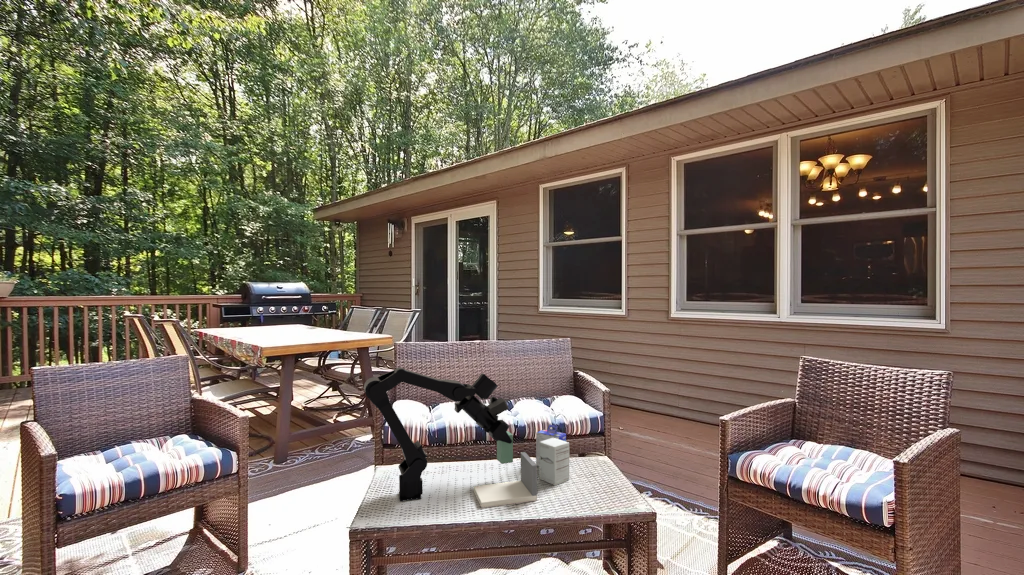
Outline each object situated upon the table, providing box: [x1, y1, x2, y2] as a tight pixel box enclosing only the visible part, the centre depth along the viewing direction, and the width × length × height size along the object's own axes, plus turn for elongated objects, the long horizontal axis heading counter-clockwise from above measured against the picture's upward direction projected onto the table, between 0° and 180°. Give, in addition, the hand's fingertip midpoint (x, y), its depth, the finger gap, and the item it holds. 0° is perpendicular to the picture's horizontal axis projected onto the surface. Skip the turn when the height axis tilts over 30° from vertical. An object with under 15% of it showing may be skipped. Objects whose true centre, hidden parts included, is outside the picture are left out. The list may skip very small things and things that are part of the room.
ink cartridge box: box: [535, 424, 567, 467], centre depth 167 cm, size 10×6×14 cm, turn 53°
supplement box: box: [539, 438, 570, 486], centre depth 156 cm, size 7×7×13 cm
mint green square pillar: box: [496, 430, 514, 465], centre depth 155 cm, size 4×4×9 cm
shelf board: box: [473, 451, 538, 509], centre depth 144 cm, size 17×12×10 cm
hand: (508, 440), depth 156 cm, fingers closed on mint green square pillar, 4 cm apart
